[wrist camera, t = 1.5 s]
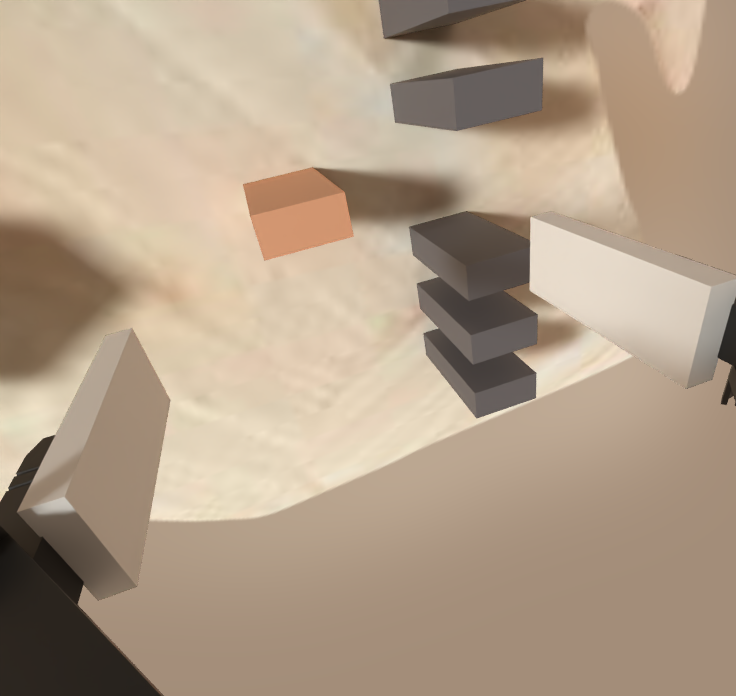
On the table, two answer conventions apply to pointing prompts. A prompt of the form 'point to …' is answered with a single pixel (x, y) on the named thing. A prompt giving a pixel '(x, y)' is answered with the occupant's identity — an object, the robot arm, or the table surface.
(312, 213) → the domino
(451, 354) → the domino
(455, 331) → the domino
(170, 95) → the table surface
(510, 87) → the domino
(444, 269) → the domino
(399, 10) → the domino
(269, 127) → the table surface
